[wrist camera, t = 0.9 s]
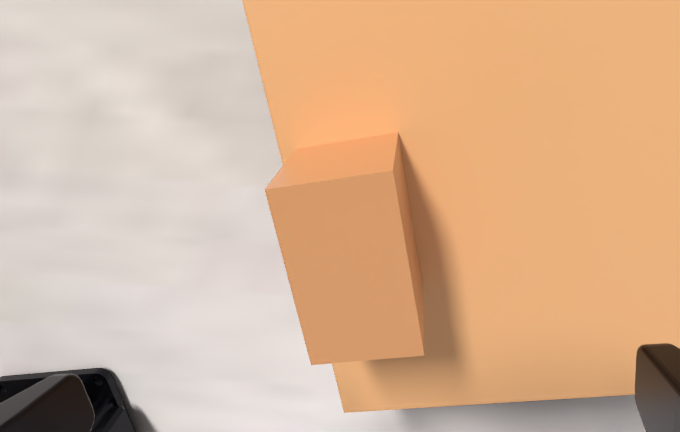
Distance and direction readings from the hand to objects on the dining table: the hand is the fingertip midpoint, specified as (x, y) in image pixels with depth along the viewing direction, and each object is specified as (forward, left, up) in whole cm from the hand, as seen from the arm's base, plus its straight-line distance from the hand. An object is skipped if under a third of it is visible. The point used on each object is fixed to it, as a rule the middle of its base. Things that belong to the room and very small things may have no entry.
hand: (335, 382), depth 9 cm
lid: (+5, -1, -9) cm, 10 cm away
